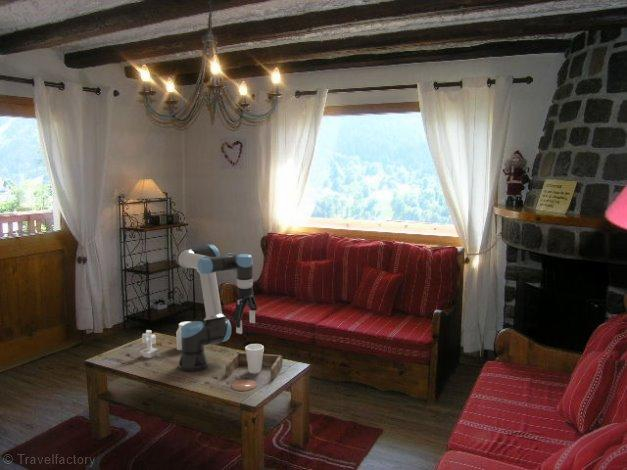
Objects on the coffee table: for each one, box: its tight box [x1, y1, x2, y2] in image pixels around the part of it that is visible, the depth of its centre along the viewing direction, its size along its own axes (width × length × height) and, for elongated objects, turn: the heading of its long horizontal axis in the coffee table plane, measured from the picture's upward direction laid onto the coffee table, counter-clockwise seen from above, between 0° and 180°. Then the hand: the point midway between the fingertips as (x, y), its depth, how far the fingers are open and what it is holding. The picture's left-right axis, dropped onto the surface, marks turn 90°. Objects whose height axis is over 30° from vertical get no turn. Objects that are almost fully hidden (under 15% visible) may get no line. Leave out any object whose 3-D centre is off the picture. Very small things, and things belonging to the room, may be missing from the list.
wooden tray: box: [225, 351, 283, 381], centre depth 263 cm, size 18×25×6 cm
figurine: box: [140, 329, 160, 359], centre depth 282 cm, size 7×9×15 cm
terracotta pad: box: [231, 378, 257, 392], centre depth 246 cm, size 12×12×1 cm
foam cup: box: [244, 343, 265, 374], centre depth 262 cm, size 10×9×13 cm
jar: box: [175, 321, 191, 351], centre depth 295 cm, size 12×10×15 cm
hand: (245, 327), depth 247 cm, fingers open, 13 cm apart
